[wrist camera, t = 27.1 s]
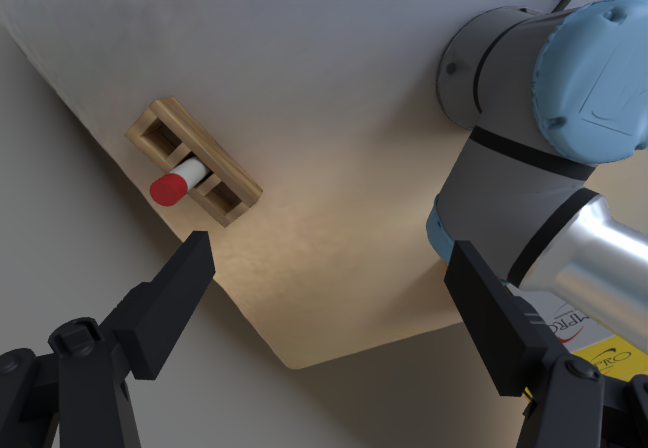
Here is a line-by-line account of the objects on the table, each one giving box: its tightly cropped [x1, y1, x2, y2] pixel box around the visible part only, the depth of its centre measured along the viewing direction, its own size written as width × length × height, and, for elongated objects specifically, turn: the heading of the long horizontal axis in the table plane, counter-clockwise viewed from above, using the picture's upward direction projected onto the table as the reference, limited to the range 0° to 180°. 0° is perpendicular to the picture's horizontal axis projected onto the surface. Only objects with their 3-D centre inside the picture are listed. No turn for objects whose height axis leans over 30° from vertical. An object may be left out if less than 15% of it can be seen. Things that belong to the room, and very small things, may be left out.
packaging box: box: [445, 262, 648, 402], centre depth 47 cm, size 16×16×25 cm
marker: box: [150, 155, 211, 206], centre depth 44 cm, size 4×4×14 cm
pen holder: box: [124, 96, 263, 228], centre depth 48 cm, size 8×20×5 cm, turn 39°
